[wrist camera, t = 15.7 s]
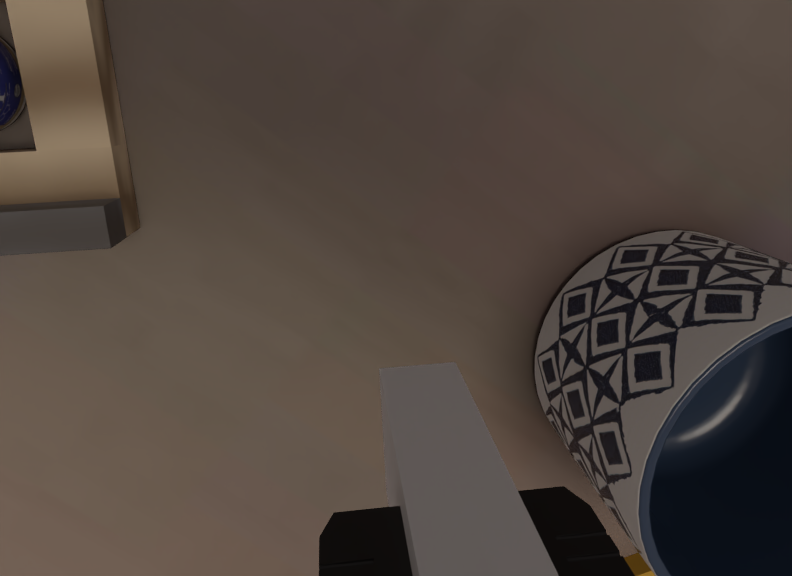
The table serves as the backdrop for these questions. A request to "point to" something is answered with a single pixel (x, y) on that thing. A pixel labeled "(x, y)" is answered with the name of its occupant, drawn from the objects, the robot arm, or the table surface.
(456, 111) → the table surface
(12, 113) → the pill bottle
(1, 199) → the jig
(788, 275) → the planter
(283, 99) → the table surface
